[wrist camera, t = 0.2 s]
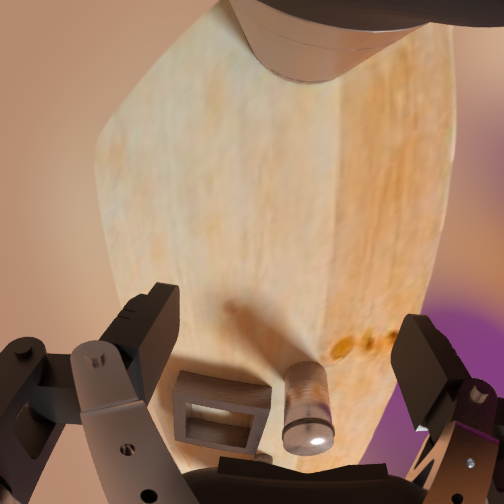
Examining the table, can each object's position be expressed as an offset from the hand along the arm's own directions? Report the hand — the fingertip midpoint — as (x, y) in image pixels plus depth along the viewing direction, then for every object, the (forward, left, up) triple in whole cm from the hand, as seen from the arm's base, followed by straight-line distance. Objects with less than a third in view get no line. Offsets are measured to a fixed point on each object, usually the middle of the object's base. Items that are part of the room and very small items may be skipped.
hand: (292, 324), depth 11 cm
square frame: (+28, -3, -18) cm, 33 cm away
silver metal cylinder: (+20, +6, -18) cm, 27 cm away
